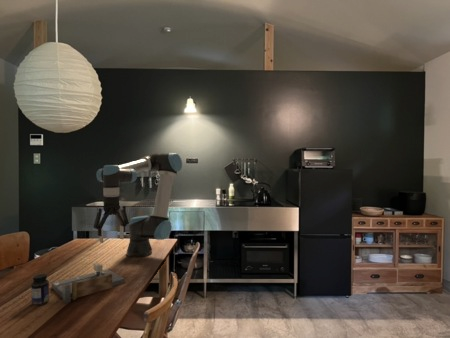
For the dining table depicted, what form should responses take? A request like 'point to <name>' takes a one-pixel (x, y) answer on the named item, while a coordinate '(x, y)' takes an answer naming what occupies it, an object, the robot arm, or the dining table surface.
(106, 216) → the robot arm
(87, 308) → the dining table surface
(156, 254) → the dining table surface
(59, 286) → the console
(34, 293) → the pill bottle
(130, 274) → the dining table surface
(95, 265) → the fader knob
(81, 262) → the dining table surface
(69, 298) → the hinge bracket
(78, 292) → the door
